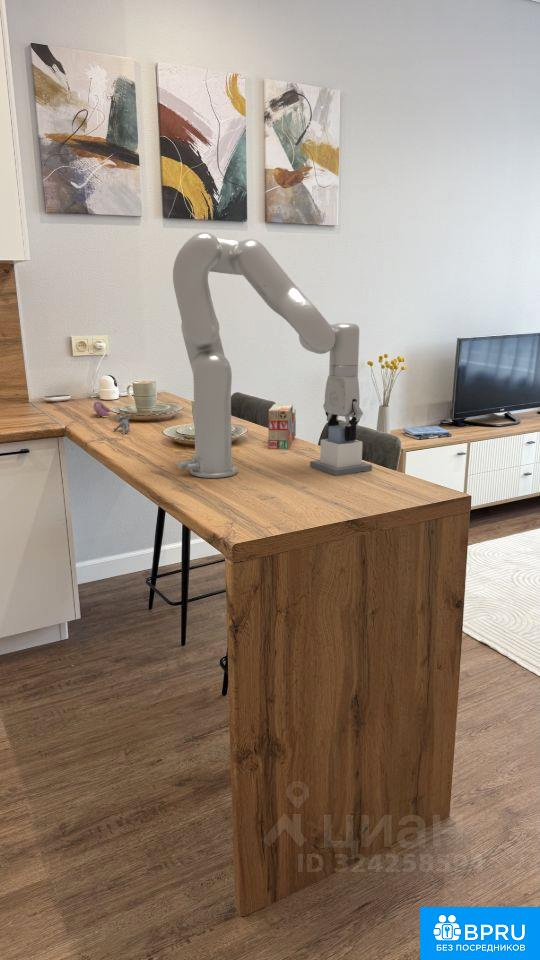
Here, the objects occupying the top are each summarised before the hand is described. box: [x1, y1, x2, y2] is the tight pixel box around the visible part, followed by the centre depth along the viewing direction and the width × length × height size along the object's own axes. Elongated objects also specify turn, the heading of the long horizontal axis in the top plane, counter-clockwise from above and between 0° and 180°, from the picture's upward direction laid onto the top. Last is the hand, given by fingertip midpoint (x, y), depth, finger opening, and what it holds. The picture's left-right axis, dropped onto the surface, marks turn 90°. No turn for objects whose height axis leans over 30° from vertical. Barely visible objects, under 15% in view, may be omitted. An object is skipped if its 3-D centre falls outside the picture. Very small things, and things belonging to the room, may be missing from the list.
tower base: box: [309, 438, 373, 477], centre depth 189 cm, size 12×12×8 cm
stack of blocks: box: [267, 403, 297, 450], centre depth 222 cm, size 21×6×12 cm, turn 172°
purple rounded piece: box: [92, 401, 112, 417], centre depth 271 cm, size 10×5×7 cm, turn 7°
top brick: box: [327, 424, 354, 444], centre depth 188 cm, size 5×5×5 cm
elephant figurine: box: [112, 412, 136, 434], centre depth 239 cm, size 10×6×9 cm
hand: (341, 437), depth 188 cm, fingers open, 7 cm apart
